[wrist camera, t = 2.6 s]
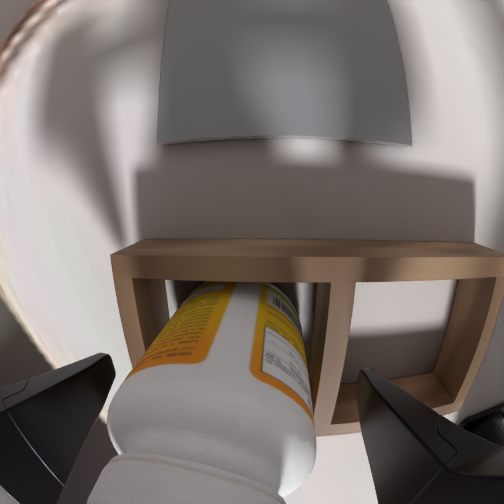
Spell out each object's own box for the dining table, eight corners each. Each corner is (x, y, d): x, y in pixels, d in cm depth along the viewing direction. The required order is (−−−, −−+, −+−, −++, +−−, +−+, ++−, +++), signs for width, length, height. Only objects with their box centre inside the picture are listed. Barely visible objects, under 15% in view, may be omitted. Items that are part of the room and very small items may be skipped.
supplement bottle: (176, 359, 13) (86, 525, 3) (190, 257, 12) (11, 427, 2) (281, 385, 13) (276, 574, 3) (316, 288, 11) (386, 524, 2)
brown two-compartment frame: (474, 243, 10) (510, 257, 7) (439, 381, 12) (459, 410, 9) (144, 239, 11) (110, 254, 9) (168, 387, 13) (150, 422, 11)
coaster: (373, -24, 7) (376, -30, 7) (405, 147, 10) (412, 145, 9) (178, -24, 8) (175, -30, 8) (163, 144, 10) (157, 143, 10)
